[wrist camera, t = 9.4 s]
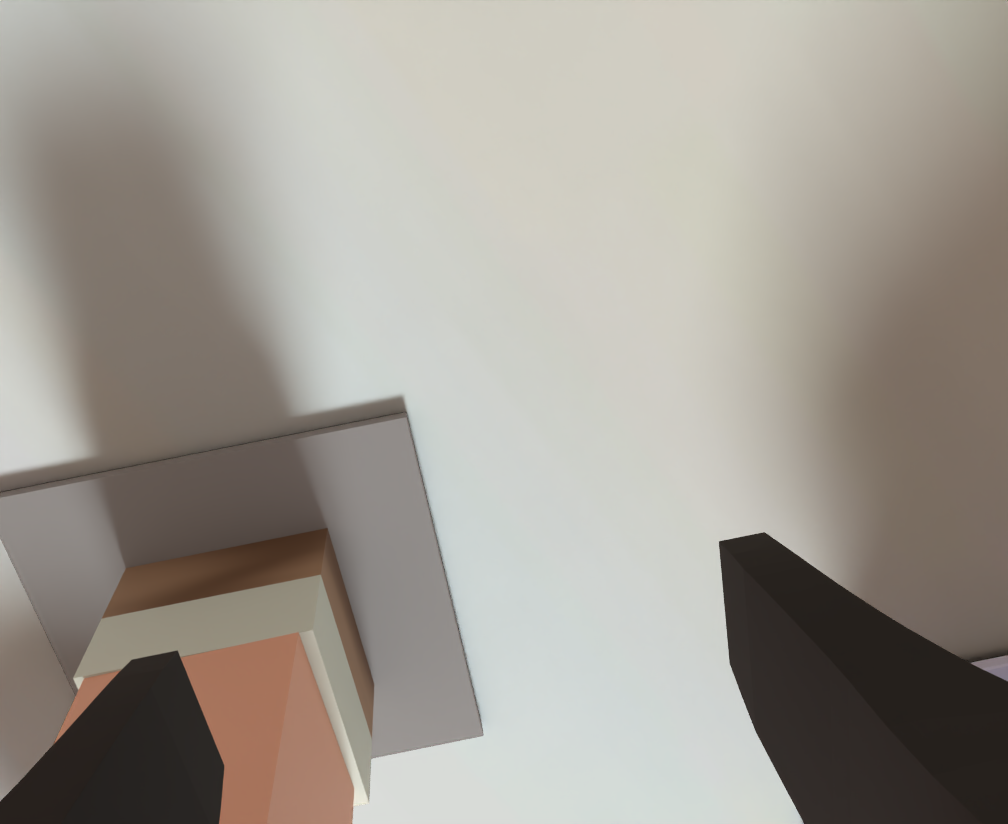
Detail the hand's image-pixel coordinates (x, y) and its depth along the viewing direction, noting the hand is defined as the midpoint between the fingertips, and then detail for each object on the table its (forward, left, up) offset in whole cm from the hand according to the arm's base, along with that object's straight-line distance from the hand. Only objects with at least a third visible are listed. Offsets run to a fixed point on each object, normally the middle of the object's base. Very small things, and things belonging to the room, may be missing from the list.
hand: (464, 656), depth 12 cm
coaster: (+6, +6, -10) cm, 13 cm away
